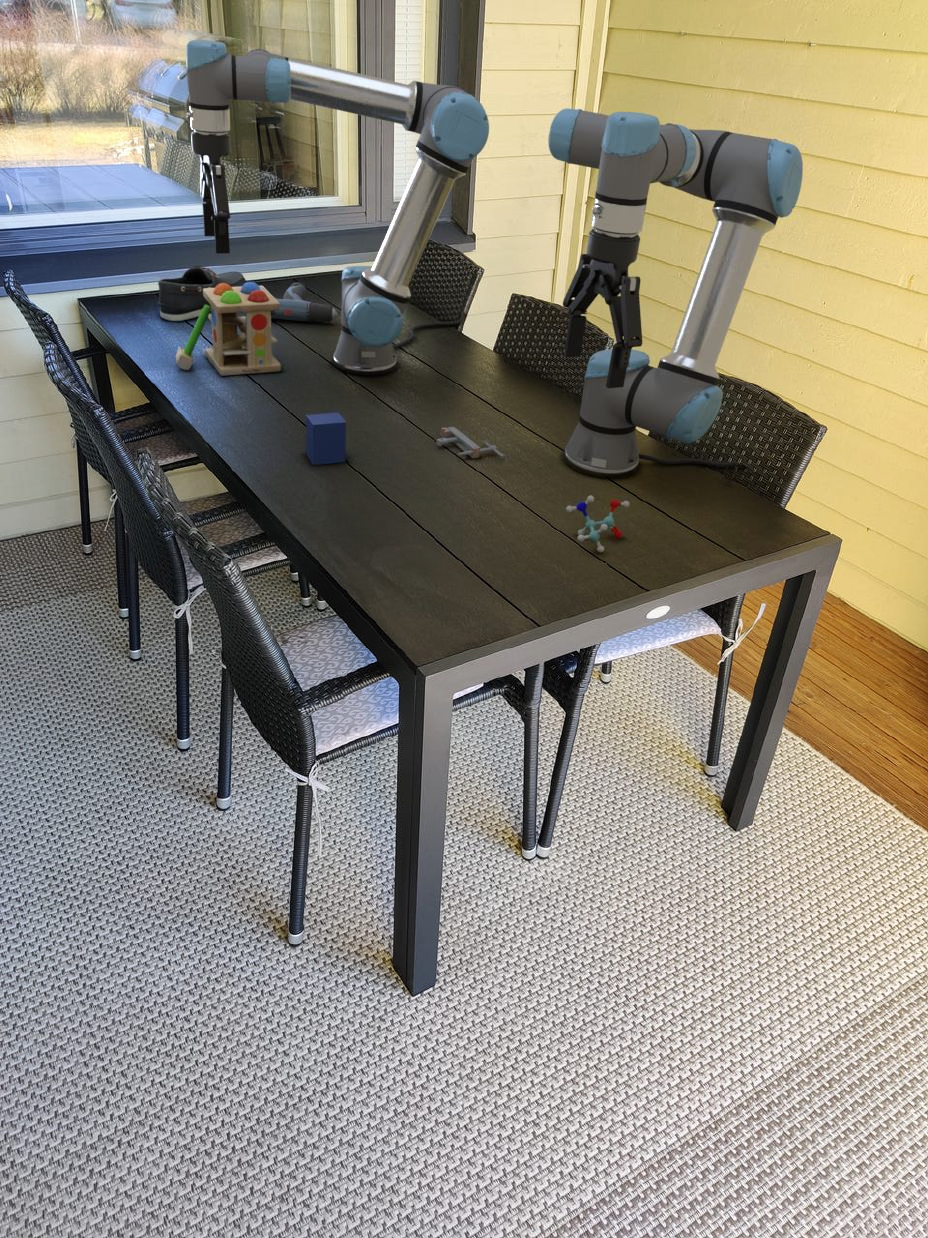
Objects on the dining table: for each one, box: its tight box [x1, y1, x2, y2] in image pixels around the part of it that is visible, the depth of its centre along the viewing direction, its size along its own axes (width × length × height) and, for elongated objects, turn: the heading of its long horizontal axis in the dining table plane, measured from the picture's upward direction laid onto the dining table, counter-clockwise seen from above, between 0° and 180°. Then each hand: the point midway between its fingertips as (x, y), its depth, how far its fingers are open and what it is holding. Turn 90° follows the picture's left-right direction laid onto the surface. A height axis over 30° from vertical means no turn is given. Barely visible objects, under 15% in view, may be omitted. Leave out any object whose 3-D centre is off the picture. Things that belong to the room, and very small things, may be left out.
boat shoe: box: [157, 265, 247, 322], centre depth 263 cm, size 13×33×10 cm, turn 147°
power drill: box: [271, 282, 338, 322], centre depth 265 cm, size 5×19×20 cm
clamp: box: [436, 426, 507, 460], centre depth 201 cm, size 15×2×10 cm
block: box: [305, 412, 347, 466], centre depth 191 cm, size 5×6×8 cm
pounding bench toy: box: [174, 281, 282, 377], centre depth 225 cm, size 23×14×18 cm, turn 116°
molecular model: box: [565, 495, 630, 554], centre depth 173 cm, size 12×10×10 cm
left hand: (216, 244), depth 204 cm, fingers open, 13 cm apart
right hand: (592, 371), depth 156 cm, fingers open, 13 cm apart
